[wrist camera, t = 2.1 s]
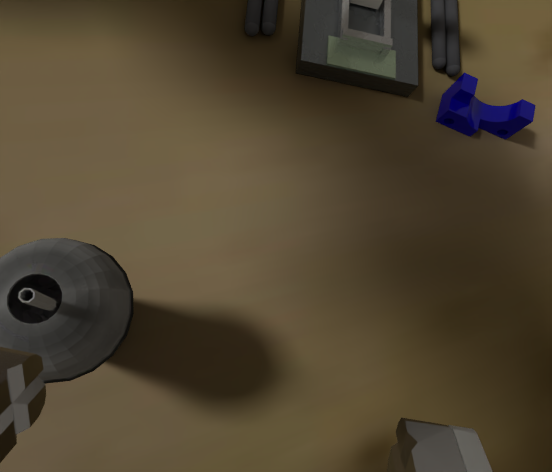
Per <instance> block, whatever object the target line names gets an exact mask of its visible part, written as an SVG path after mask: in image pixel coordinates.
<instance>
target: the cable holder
mask: <svg viewBox="0 0 552 472" xmlns="http://www.w3.org/2000/svg"><path fill="white" fill-rule="evenodd" d="M477 81H478V79H477V78H475V77H473V76H470V75H468V74H466V73H464V74H463V75H462V76H461V77H460V78H459V79H458V80H457V81H456V82H455V83H454V84H453V85H452V86H451V87H450V88H449V89H448V90H447V91H446V92H445V93H444V94H443V95H442V98H441V102H440V106H439V110H438V114H437V118H436V122H438V123H440V124H442V125H445V126H447V127H449V128H451V129H454V130H456V131H458V132H460V133H463V134H465V135H467V136H471V135H473V134H474V133H475V132H477V131H478V128H480V129H483V130H485V131H487V132H489V133H492V134H494V135H496V136H498V137H501V138H503V139H505V140H506V139H507V138H509V137H510V136H512V135H513V134H515V133H516V132H518V131H519V130H521V129H522V128H524V127H525V126H527V125H528V124H530V123H531V122H533V117H534V111H535V105H534V104H532V103H529V102H527V101H525V100H523V99H522V100H520V101H519V102H517V103H514V104H511V105H507V106H491V105H487V104H484V103H482V102H481V101H479V100H478V99H477V98H476V97H475V96H474V95H475V90H476V85H477Z"/></svg>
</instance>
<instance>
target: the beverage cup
mask: <svg viewBox="0 0 552 472" xmlns="http://www.w3.org/2000/svg"><path fill="white" fill-rule="evenodd" d="M132 317H133V291H132V288H131V285H130V283H129V280H128V277H127V274H126V272H125V271H124V270H123V269H122V267H121V266H120V265H119V264H118V262H117V261H116V260H115V259H114V258H113V256H111V255H109V254H108V253H106V252H105V251H103V250H101V249H100V248H98V247H96V246H95V245H92V244H88V243H84V242H80V241H76V240H71V239H67V238H55V239H40V240H37V241H34V242H30V243H27V244H24V245H21V246H18V247H16V248H15V249H13V250H12V251H10V252H9V253H7V254H6V255H4V256H3V257H1V258H0V347H4V348H9V349H14V350H19V351H24V352H29V353H34V354H37V355H39V356H41V357H42V362H43V368H44V369H43V370H42V372H41V373H40V374H39V375H38V376H39V378H40V379H41V380H42V381H43V383H53V382H63V381H71V380H73V379H75V378H78V377H80V376H83V375H85V374H87V373H90V372H92V371H94V370H95V369H96V368H98V367H99V366H100V365H101V364H103V363H104V362H105V361H106V360H108V359H109V358H110V357H111V356H113V354H114V353H115V352H116V350H117V349H118V347H119V346H120V345H121V343H122V342H123V340H124V339H125V337H126V336H127V333H128V330H129V327H130V323H131V320H132Z"/></svg>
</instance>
